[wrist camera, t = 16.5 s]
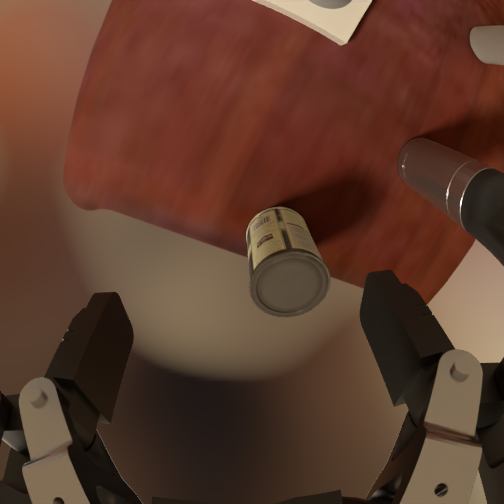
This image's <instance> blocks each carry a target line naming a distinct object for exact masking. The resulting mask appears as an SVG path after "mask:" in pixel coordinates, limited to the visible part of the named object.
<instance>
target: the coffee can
mask: <svg viewBox="0 0 504 504" xmlns="http://www.w3.org/2000/svg"><path fill="white" fill-rule="evenodd" d="M246 239H247V247H248V259H249V272H250V286H249V288H250V295H251V298H252V300H253V302H254V303H255V305H256V306H257V307H258V308H259V309H261V310H262V311H264V312H265V313H267V314H270V315H273V316H278V317H292V316H298V315H301V314H304V313H306V312H308V311H310V310H312V309H313V308H315V307H316V306H317V305H319V304H320V303H321V302H322V300H323V299H324V298H325V296H326V295H327V292H328V290H329V287H330V274H329V270H328V268H327V266H326V265H325V263H324V262H323V260H322V258H321V256H320V253H319V251H318V249H317V247H316V245H315V243H314V241H313V239H312V236H311V234H310V232H309V230H308V228H307V225H306V223H305V221H304V219H303V218H302V217H301V215H299V214H298V213H297V212H295V211H294V210H292V209H289V208H285V207H272V208H268V209H266V210H264V211H262V212H260V213H259V214H257V215H256V216H255V217H254V218H253V219H252V221H251V222H250V224H249V226H248V228H247V233H246Z"/></svg>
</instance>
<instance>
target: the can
mask: <svg viewBox="0 0 504 504" xmlns="http://www.w3.org/2000/svg"><path fill="white" fill-rule="evenodd" d="M470 44H471V47H472V49H473V51H474V53H475V55H476V56H477V57H478V59H480V60H481V61H482V62H484V63H487V64H498V65H504V25H499V26H477V27H474V28H472V30H471V32H470Z"/></svg>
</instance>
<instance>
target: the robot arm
mask: <svg viewBox="0 0 504 504" xmlns="http://www.w3.org/2000/svg"><path fill="white" fill-rule="evenodd" d="M398 171H399V175H400V177H401V179H402V181H403V182H404V183H405V184H406V185H407V186H409V187H410V188H412V189H413V190H414V191H416V192H417V193H418V194H420V195H421V196H423V197H424V198H425V199H427V200H428V201H429V202H431V203H432V204H433V205H435V206H436V207H437V208H439V209H440V210H441V211H442V212H444V213H445V214H446V215H447V216H449V217H450V218H451V219H452V220H454V221H455V222H456V223H458V224H459V225H460V226H461V227H462V228H464V229H465V230H466V231H467V232H468V233H469V234H471V235H472V236H473V237H474V238H475V239H477V240H478V241H479V242H480V243H481V244H482V245H483V246H485V247H486V248H487V249H488V250H489V251H490V252H491V253H492V254H493V255H494V256H495V257H496V258H497V259H498V260H499V261H500V263H501V264H502V265H503V266H504V174H503V173H502V172H500V171H498V170H496V169H494V168H492V167H490V166H488V165H486V164H484V163H482V162H480V161H478V160H476V159H473V158H471V157H469V156H467V155H465V154H463V153H460V152H458V151H456V150H454V149H451V148H449V147H447V146H444V145H442V144H439V143H437V142H434V141H432V140H429V139H427V138H423V137H418V138H414V139H411V140H410V141H408V142H407V143H406V144H405V145H404V147H403V148H402V150H401V152H400V154H399V158H398ZM360 322H361V325H362V328H363V331H364V333H365V335H366V338H367V340H368V342H369V345H370V347H371V349H372V352H373V354H374V357H375V359H376V362H377V364H378V367H379V369H380V371H381V374H382V377H383V379H384V382H385V384H386V387H387V389H388V392H389V395H390V397H391V400H392V402H393V405H394V406H398V405H401V404H404V403H406V404H407V407H408V409H409V410H408V412H407V414H406V416H405V419H404V421H403V424H402V427H401V430H400V432H399V435H398V437H397V440H396V442H395V445H394V447H393V449H392V452H391V454H390V456H389V459H388V461H387V463H386V465H385V467H384V468H383V470H382V471H381V473H380V474H379V476H378V477H377V479H376V480H375V482H374V484H373V486H372V487H371V489H370V491H369V493H368V495H367V497H366V499H362V498H356V497H344V496H343V497H342V496H341V490H337V491H333V492H327V493H321V494H316V495H309V496H303V497H295V498H292V499H289V500H286V501H283V502H280V503H277V504H468V502H469V499H470V496H471V492H472V489H473V485H474V482H475V479H476V475H477V471H478V470H479V473H480V477H481V480H482V484H483V488H484V492H485V496H486V500H487V504H504V358H503V359H502V361H501V362H500V363H479V361H478V360H477V359H476V358H475V357H474V356H473V355H472V354H470V353H469V352H466V351H464V350H458V349H457V350H456V349H455V348H454V346H453V345H452V343H451V342H450V340H449V338H448V337H447V335H446V334H445V332H444V330H443V329H442V327H441V326H440V324H439V323H438V321H437V319H436V318H435V316H434V315H432V312H431V311H430V309H429V307H428V306H426V303H425V302H424V300H423V299H422V297H421V296H420V294H419V293H418V292H417V291H416V290H414V289H413V288H412V287H410V286H409V285H407V284H406V283H405V284H401V283H400V281H399V280H398V278H397V277H396V275H395V274H394V272H393V271H391V270H384V271H376V272H369V273H368V274H367V276H366V281H365V286H364V291H363V297H362V302H361V307H360ZM133 339H134V335H133V328H132V325H131V323H130V320H129V318H128V316H127V313H126V311H125V309H124V306H123V304H122V301H121V299H120V296H119V295H118V293H116V292H102V293H94V294H93V296H92V297H91V299H90V301H89V303H88V305H87V307H86V308H83V309H82V310H81V311H80V312H79V313H78V314H77V315H76V316H75V317H74V318H73V319H72V321H71V323H70V325H69V327H68V329H67V332H66V333H65V335H64V337H63V339H62V342H61V343H60V345H59V347H58V349H57V351H56V353H55V355H54V357H53V359H52V361H51V363H50V365H49V368H48V370H47V372H46V374H45V376H44V378H36V379H34V380H32V381H30V382H29V383H28V384H27V385H26V386H25V387H24V388H23V390H22V391H21V394H15V395H9V396H5V395H4V394H3V393H2V392H1V391H0V444H1V441H2V440H3V441H4V442H6V443H7V444H8V445H9V446H11V450H10V453H9V458H8V461H7V466H6V470H5V475H4V478H3V480H2V481H0V504H143V503H142V502H141V500H140V499H139V497H138V496H137V495H136V494H135V492H134V491H133V490H132V489H131V488H130V487H129V486H128V485H127V484H126V483H125V481H124V480H123V479H122V477H121V475H120V474H119V472H118V470H117V468H116V466H115V465H114V463H113V461H112V459H111V457H110V455H109V453H108V451H107V449H106V447H105V445H104V443H103V441H102V439H101V437H100V434H99V433H98V431H97V430H96V427H97V423H98V422H102V423H108V424H111V420H112V416H113V412H114V408H115V404H116V401H117V397H118V393H119V389H120V386H121V382H122V378H123V375H124V371H125V368H126V365H127V361H128V357H129V354H130V351H131V348H132V344H133ZM152 504H205V503H201V502H198V501H189V500H177V499H166V498H159V497H152Z"/></svg>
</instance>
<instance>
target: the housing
mask: <svg viewBox="0 0 504 504" xmlns="http://www.w3.org/2000/svg"><path fill="white" fill-rule="evenodd" d="M252 1H255V2H257V3H260V4H262V5H264V6H267V7H269V8H271V9H273V10H276V11H278V12H280V13H282V14H284V15H286V16H288V17H290V18H292V19H294V20H296V21H298V22H300V23H302V24H304V25H306V26H308V27H310V28H312V29H313V30H315V31H317V32H319V33H321V34H322V35H324V36H326V37H328V38H329V39H331V40H333V41H334V42H336V43H338V44H339V45H343V44H346V43H347V42H348V40H349V38H350V37H351V35H352V33H353V32H354V30H355V28H356V27H357V25H358V23H359V21H360V20H361V18H362V16H363V15H364V13H365V11H366V10H367V8H368V6H369V5H370V3H371V1H372V0H252Z"/></svg>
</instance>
